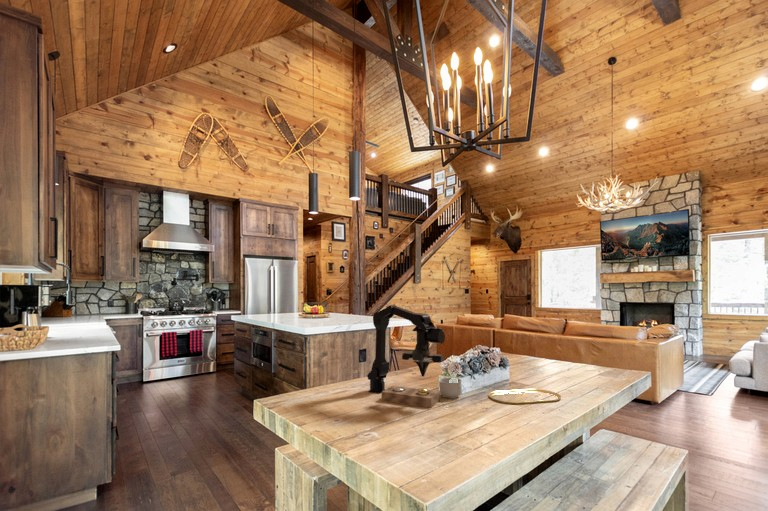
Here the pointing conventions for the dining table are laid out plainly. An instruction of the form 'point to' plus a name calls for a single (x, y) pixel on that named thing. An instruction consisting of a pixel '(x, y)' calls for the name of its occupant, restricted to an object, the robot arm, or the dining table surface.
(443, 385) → the teacup
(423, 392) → the brass plug
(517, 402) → the gold ring
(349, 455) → the dining table surface
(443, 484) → the dining table surface
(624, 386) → the dining table surface
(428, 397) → the walnut block
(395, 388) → the grey plug
